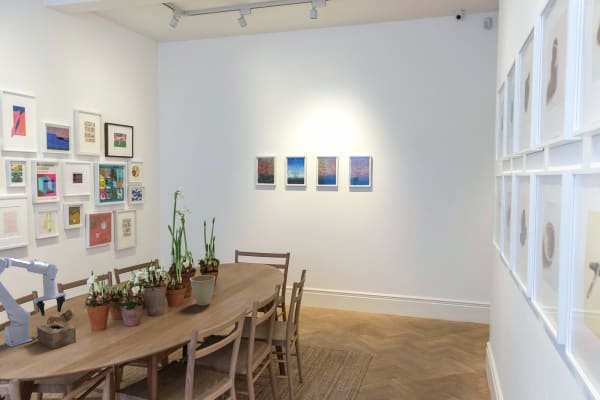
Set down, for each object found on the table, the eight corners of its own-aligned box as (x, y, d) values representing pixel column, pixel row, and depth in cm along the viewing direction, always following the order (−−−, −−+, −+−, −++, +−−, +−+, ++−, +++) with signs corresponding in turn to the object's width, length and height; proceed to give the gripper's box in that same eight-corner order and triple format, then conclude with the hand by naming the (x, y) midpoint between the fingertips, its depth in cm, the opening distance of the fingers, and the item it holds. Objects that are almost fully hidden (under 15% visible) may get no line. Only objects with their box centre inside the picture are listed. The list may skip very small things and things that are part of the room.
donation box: (51, 348, 202) (50, 334, 201) (37, 341, 212) (37, 326, 212) (75, 341, 210) (75, 327, 210) (61, 334, 221) (61, 320, 220)
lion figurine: (75, 323, 237) (74, 307, 236) (75, 326, 232) (74, 309, 232) (43, 328, 229) (42, 311, 229) (43, 331, 225) (42, 314, 224)
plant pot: (186, 306, 263) (185, 280, 262) (197, 299, 278) (197, 274, 277) (209, 308, 260) (208, 281, 259) (219, 300, 274) (219, 275, 273)
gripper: (37, 291, 215) (38, 319, 216) (68, 285, 226) (69, 311, 227) (31, 289, 220) (33, 316, 220) (62, 283, 231) (63, 309, 231)
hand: (51, 313), depth 224 cm, fingers open, 7 cm apart
